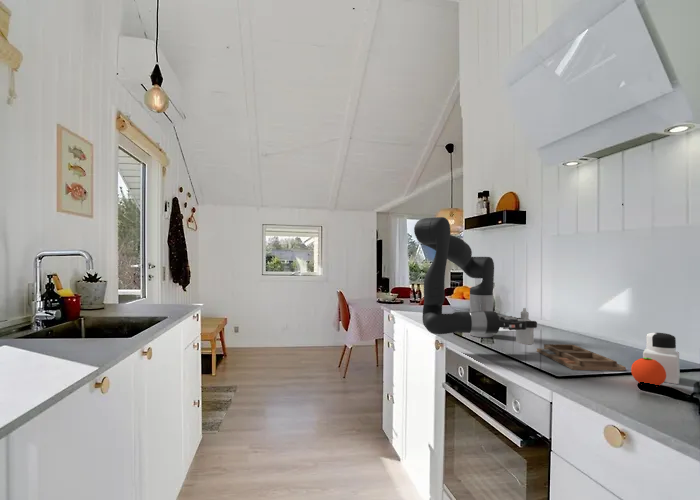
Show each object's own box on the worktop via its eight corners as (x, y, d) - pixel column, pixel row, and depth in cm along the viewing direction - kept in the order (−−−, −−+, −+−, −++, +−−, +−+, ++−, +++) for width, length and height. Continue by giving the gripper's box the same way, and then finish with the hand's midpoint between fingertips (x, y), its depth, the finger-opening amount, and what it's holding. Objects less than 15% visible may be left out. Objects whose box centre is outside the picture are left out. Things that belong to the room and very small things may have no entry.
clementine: (628, 379, 99) (628, 352, 99) (662, 383, 95) (661, 355, 96) (633, 387, 92) (632, 358, 92) (669, 392, 89) (669, 362, 89)
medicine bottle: (679, 378, 100) (678, 333, 100) (678, 384, 94) (677, 337, 95) (645, 372, 104) (645, 330, 105) (643, 378, 99) (642, 333, 100)
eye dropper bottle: (527, 341, 129) (526, 307, 130) (535, 345, 124) (535, 309, 124) (514, 341, 129) (514, 307, 130) (522, 345, 124) (522, 309, 124)
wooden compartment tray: (536, 351, 129) (536, 344, 129) (580, 351, 129) (580, 344, 129) (572, 369, 107) (572, 361, 107) (625, 370, 107) (625, 361, 107)
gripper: (489, 314, 120) (542, 315, 120) (475, 308, 134) (523, 308, 134) (489, 337, 120) (542, 338, 119) (475, 329, 134) (523, 329, 134)
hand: (531, 322), depth 127 cm, fingers closed on eye dropper bottle, 5 cm apart
